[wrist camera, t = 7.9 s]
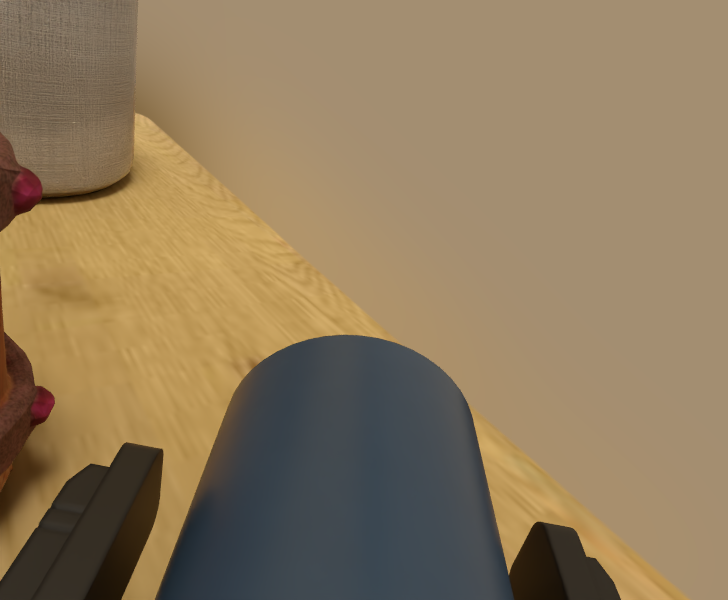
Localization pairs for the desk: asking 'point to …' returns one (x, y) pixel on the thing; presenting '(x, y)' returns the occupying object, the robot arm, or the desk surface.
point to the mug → (3, 356)
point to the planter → (69, 90)
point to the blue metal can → (342, 485)
